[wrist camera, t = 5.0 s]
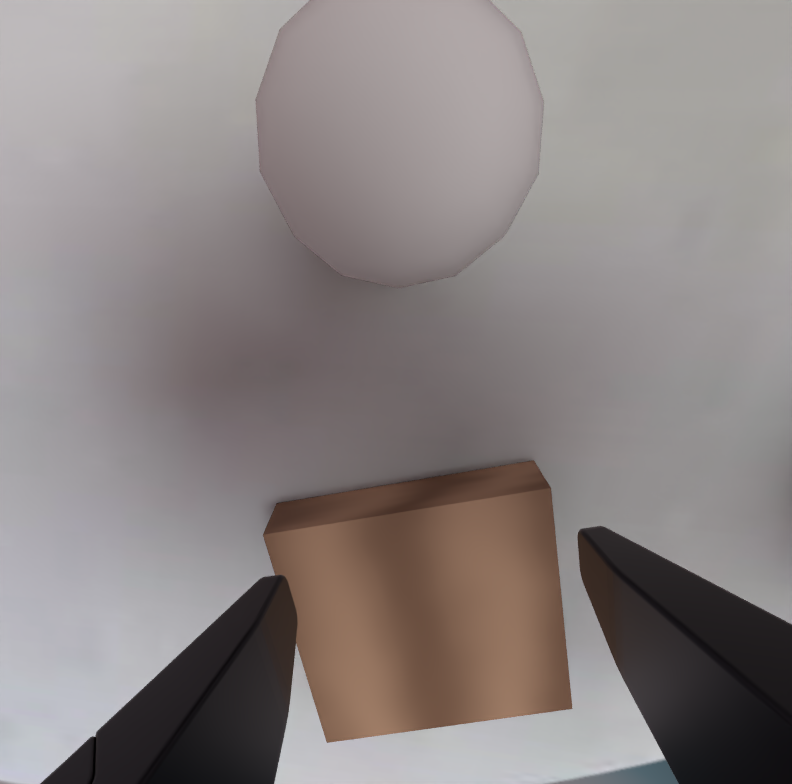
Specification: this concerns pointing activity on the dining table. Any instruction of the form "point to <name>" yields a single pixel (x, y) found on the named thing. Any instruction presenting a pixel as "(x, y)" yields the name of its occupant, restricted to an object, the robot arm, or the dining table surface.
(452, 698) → the walnut riser block
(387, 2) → the salt shaker
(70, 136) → the dining table surface
